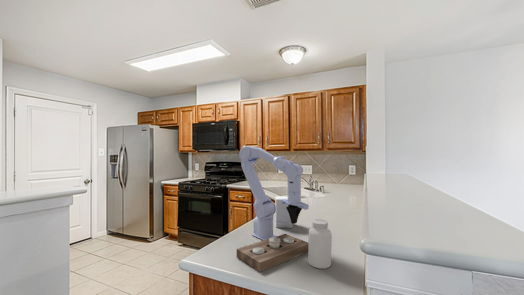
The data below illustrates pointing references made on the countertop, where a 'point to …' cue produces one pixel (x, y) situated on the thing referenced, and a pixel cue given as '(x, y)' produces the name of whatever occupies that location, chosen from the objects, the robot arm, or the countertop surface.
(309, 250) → the pill bottle
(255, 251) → the outer knob
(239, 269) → the countertop surface
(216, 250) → the countertop surface
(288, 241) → the outer knob
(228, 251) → the countertop surface
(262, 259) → the knob board
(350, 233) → the countertop surface
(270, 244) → the middle knob
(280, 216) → the supplement box
